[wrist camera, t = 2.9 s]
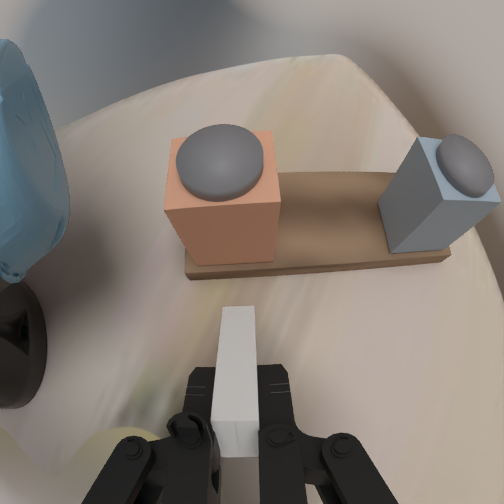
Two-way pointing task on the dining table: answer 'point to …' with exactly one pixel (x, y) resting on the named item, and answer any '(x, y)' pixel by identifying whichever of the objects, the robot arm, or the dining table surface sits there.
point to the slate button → (437, 194)
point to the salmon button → (224, 195)
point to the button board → (325, 229)
